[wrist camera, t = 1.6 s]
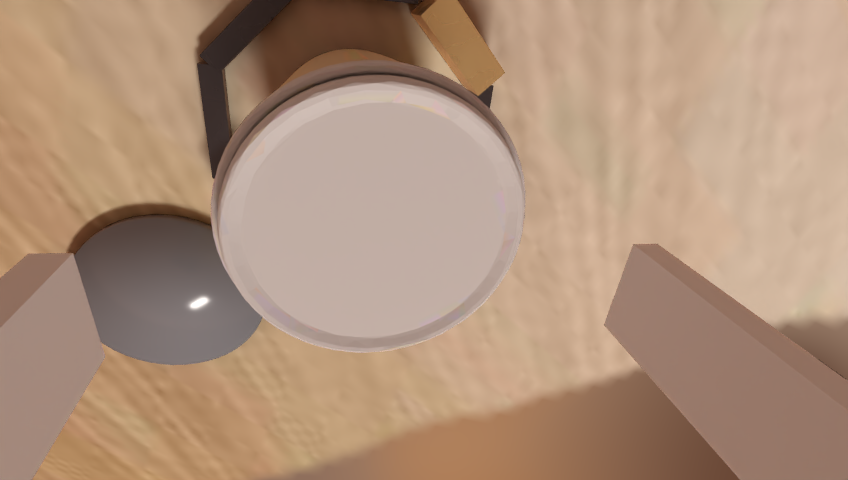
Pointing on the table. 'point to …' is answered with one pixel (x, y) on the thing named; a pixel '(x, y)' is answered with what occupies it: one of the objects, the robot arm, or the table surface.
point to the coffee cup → (368, 203)
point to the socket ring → (433, 15)
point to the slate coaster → (163, 291)
